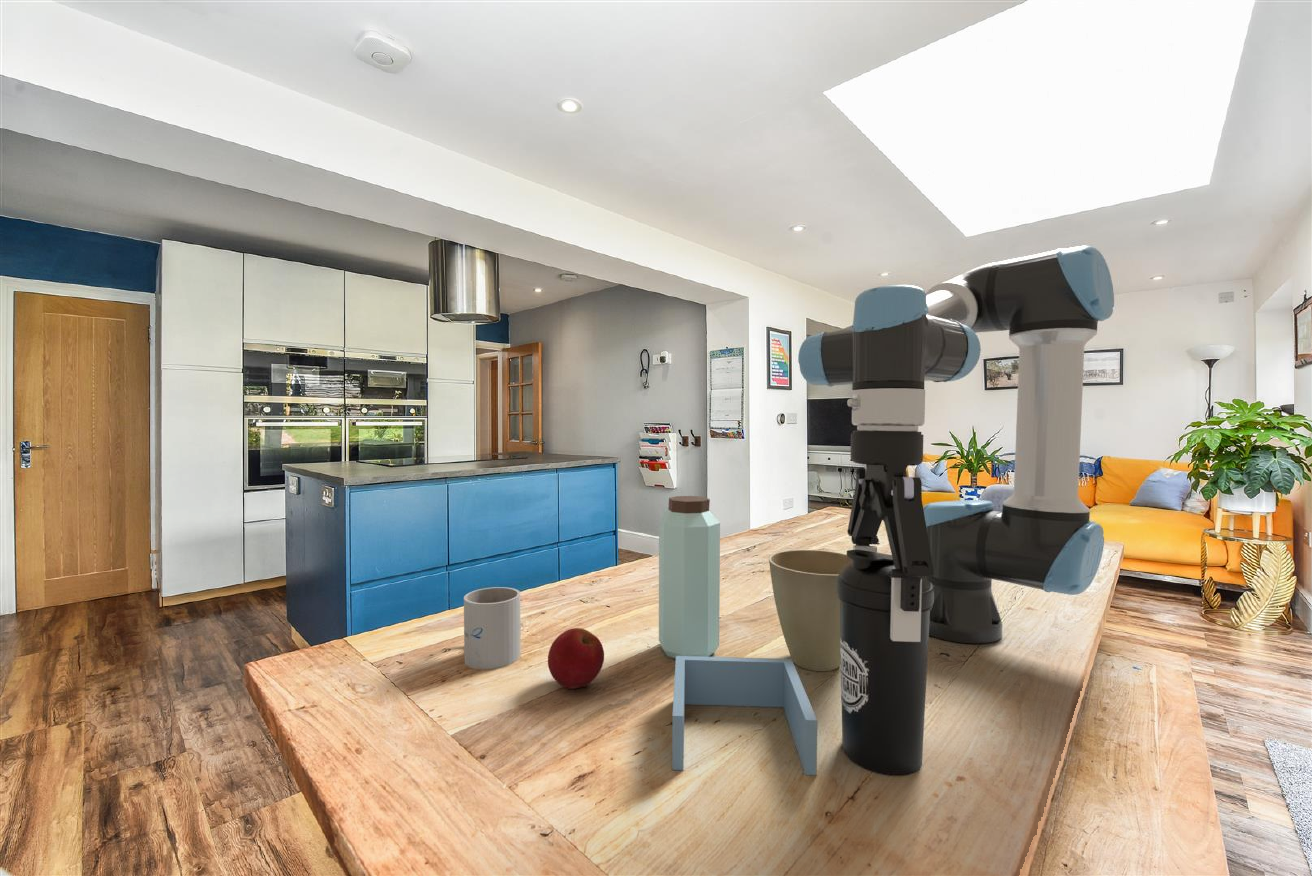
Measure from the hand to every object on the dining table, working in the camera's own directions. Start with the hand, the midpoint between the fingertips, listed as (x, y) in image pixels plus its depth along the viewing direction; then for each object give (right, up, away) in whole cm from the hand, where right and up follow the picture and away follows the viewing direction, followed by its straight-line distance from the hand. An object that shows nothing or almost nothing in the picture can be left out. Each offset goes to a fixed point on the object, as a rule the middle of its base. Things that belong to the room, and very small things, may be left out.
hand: (882, 617), depth 64 cm
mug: (-52, -15, +28) cm, 61 cm away
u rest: (-16, -16, +5) cm, 23 cm away
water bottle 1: (-20, -15, +29) cm, 38 cm away
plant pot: (0, -15, +25) cm, 29 cm away
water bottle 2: (0, -16, +1) cm, 16 cm away
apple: (-37, -15, +17) cm, 43 cm away
